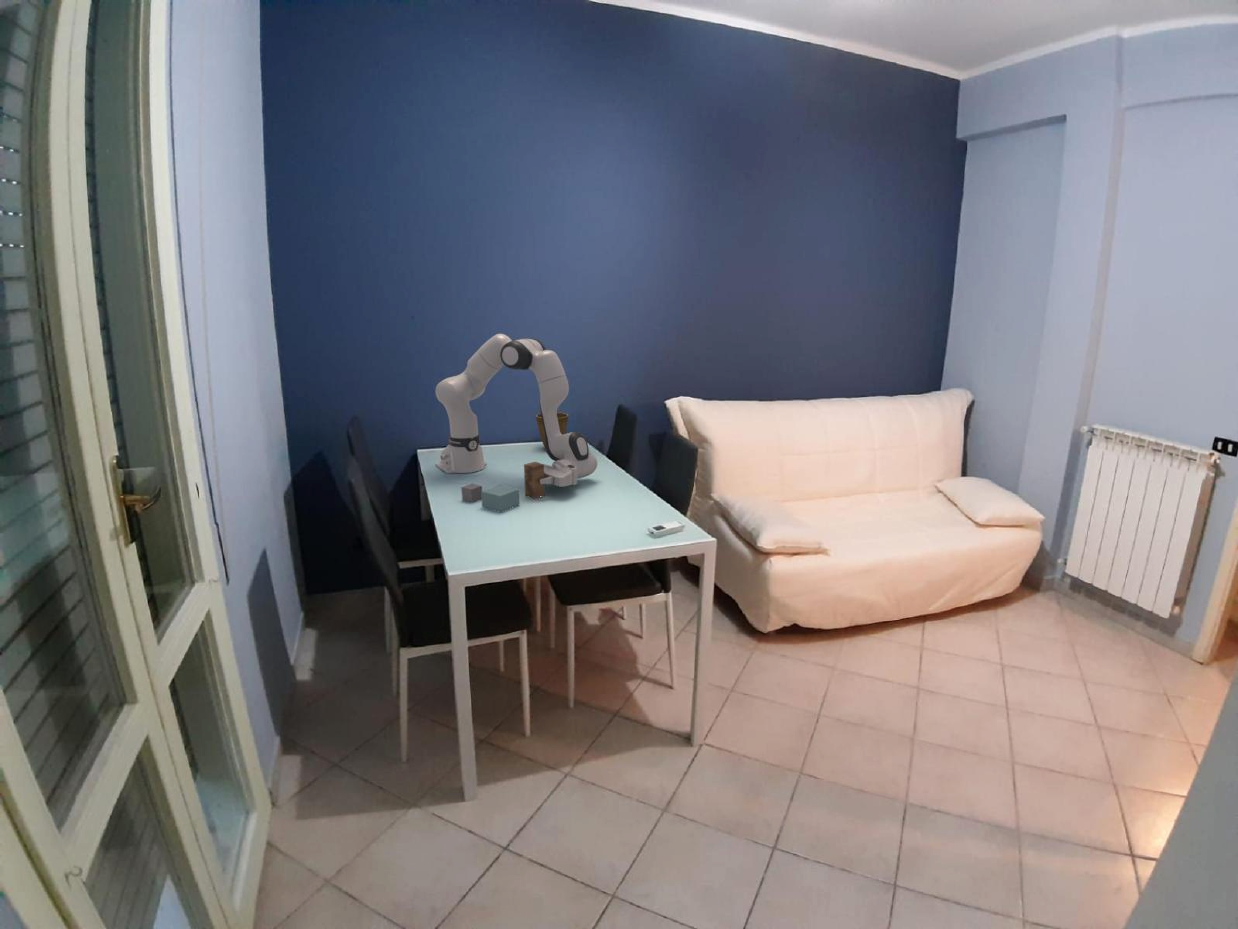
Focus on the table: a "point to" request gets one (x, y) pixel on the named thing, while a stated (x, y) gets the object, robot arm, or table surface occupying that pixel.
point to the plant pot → (561, 421)
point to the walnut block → (534, 479)
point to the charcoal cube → (471, 493)
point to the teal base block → (500, 498)
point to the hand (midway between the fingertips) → (532, 479)
